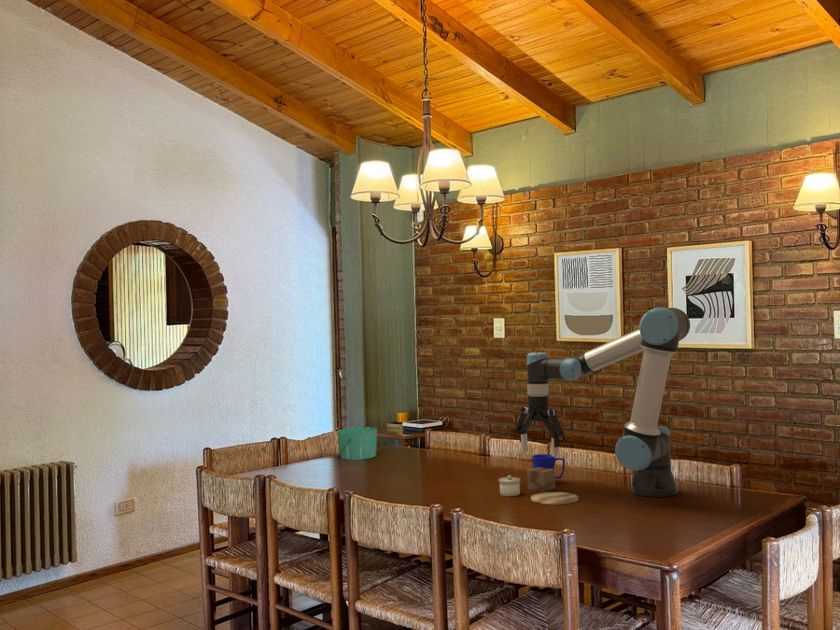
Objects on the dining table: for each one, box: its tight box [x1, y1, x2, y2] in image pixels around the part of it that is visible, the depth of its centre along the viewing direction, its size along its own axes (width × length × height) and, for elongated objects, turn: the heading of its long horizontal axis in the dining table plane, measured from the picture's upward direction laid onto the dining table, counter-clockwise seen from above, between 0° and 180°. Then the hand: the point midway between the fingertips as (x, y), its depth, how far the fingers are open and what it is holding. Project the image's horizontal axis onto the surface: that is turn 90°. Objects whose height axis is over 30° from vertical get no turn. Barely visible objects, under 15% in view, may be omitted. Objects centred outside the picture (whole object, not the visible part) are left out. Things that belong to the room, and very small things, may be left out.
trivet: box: [530, 491, 580, 506], centre depth 253 cm, size 16×16×1 cm
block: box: [526, 467, 556, 493], centre depth 269 cm, size 7×7×7 cm
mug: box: [531, 453, 566, 480], centre depth 279 cm, size 8×12×10 cm
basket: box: [336, 426, 378, 461], centre depth 350 cm, size 19×18×13 cm
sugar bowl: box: [498, 474, 521, 497], centre depth 263 cm, size 8×8×7 cm
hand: (539, 453), depth 270 cm, fingers open, 13 cm apart
